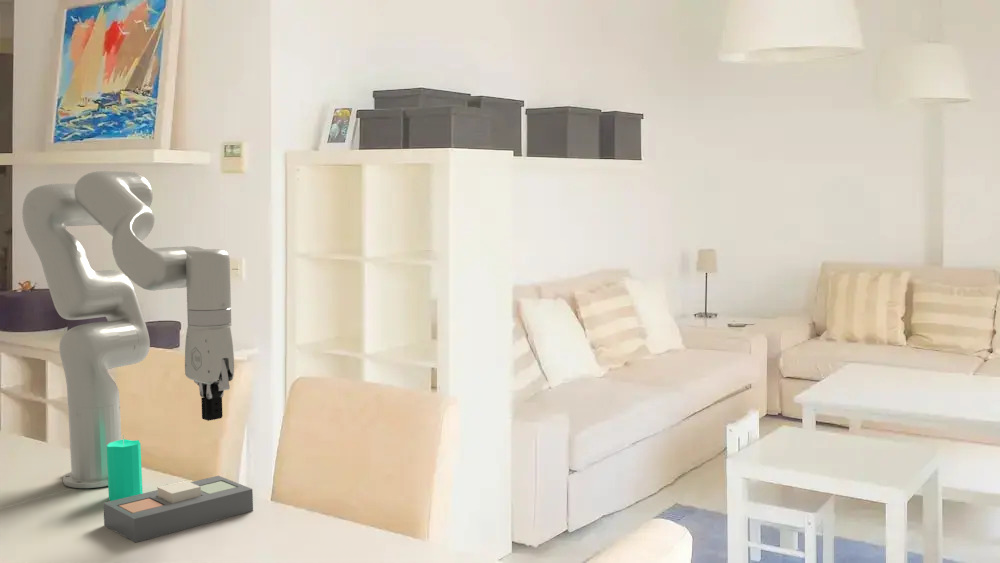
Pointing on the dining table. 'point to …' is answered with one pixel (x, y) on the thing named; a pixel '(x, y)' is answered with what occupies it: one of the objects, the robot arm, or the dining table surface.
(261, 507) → the dining table surface
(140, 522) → the keypad
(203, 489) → the key sage
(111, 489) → the candle
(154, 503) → the key terracotta
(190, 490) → the key cream
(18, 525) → the dining table surface
